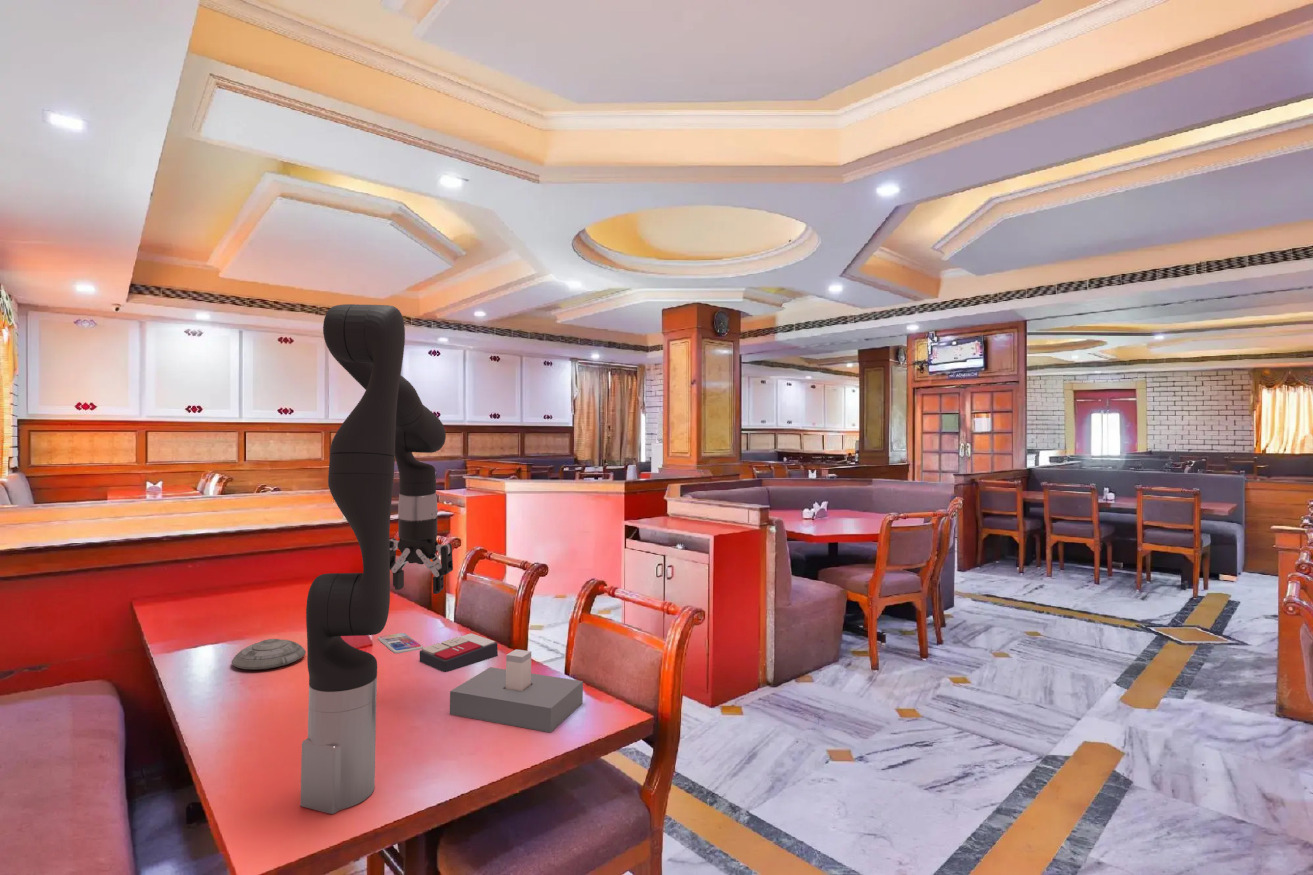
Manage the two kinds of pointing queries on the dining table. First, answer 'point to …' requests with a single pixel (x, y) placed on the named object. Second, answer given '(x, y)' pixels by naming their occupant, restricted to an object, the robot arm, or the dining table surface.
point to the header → (517, 700)
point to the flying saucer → (268, 654)
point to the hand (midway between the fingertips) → (418, 590)
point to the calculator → (458, 652)
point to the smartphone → (400, 643)
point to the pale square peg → (518, 670)
